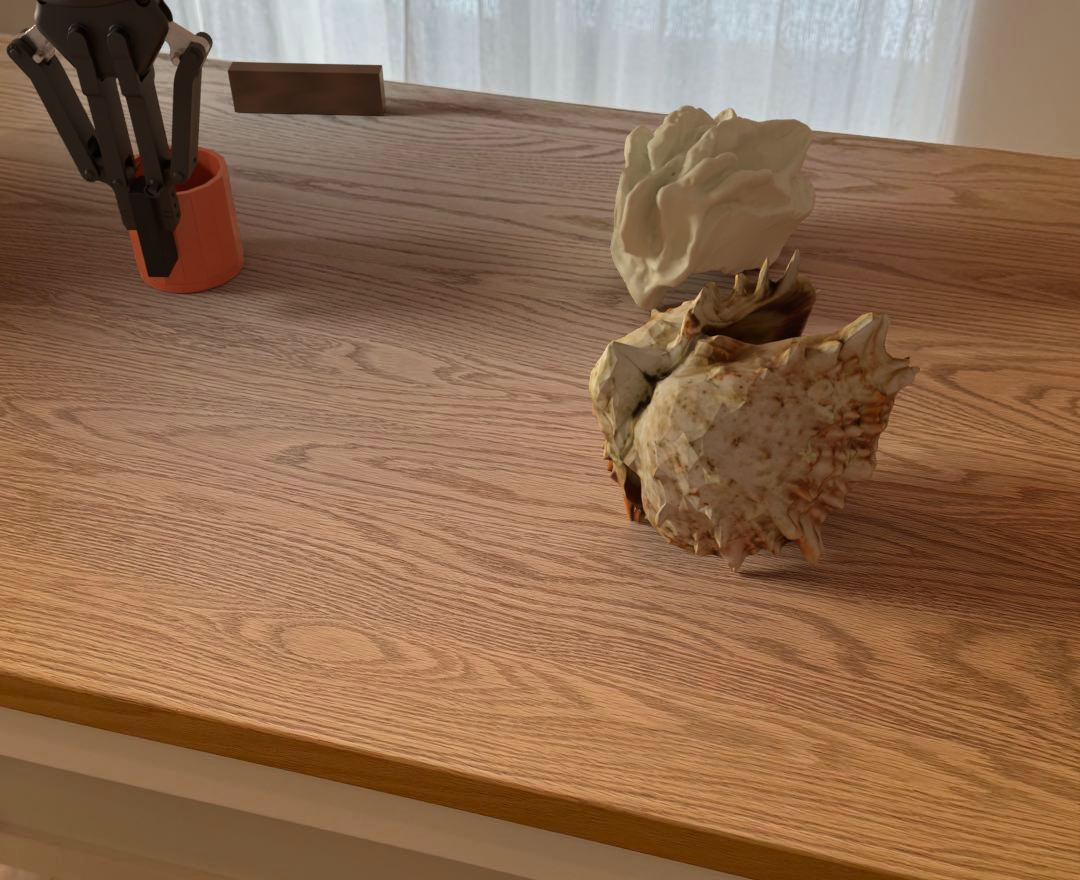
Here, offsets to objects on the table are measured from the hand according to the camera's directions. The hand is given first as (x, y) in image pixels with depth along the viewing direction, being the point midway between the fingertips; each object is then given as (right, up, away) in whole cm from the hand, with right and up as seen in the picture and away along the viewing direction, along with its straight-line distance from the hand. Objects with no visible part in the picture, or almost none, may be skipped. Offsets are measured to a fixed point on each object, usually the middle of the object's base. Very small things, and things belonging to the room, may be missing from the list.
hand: (163, 266), depth 90 cm
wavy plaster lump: (+39, +1, +6) cm, 40 cm away
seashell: (+39, -19, -15) cm, 45 cm away
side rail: (+6, +21, +26) cm, 34 cm away
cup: (0, +2, +6) cm, 7 cm away
